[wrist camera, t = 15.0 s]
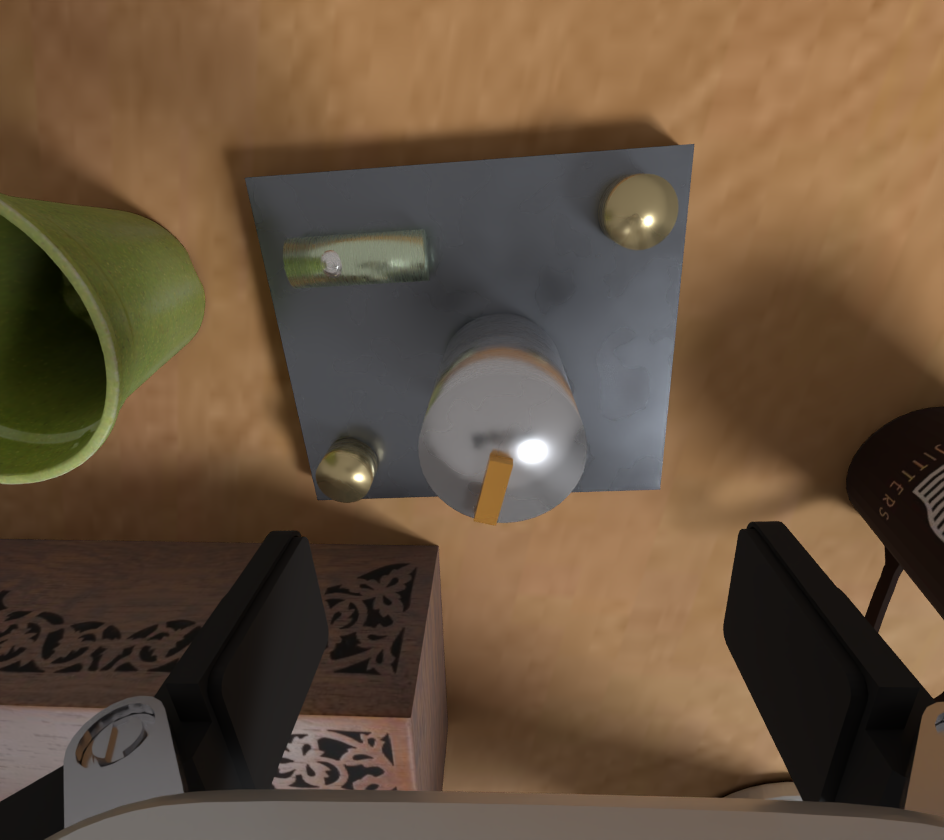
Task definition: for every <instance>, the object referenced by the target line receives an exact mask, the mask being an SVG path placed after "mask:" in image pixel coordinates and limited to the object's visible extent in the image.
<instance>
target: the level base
mask: <svg viewBox="0 0 944 840" xmlns="http://www.w3.org/2000/svg"><path fill="white" fill-rule="evenodd" d="M693 152H694V144H688V145H675V146H662V147H648V148H635V149H622V150H608V151H595V152H582V153H569V154H555V155H542V156H529V157H515V158H502V159H489V160H475V161H462V162H449V163H435V164H422V165H409V166H395V167H382V168H369V169H356V170H342V171H329V172H316V173H302V174H289V175H276V176H262V177H249V178H245V181H246V185H247V190H248V194H249V199H250V203H251V208H252V212H253V216H254V221H255V225H256V230H257V234H258V238H259V243H260V247H261V252H262V256H263V261H264V265H265V269H266V274H267V278H268V283H269V287H270V292H271V296H272V300H273V305H274V309H275V314H276V318H277V323H278V327H279V331H280V336H281V340H282V345H283V349H284V354H285V358H286V362H287V367H288V371H289V376H290V380H291V385H292V389H293V393H294V398H295V402H296V407H297V411H298V416H299V420H300V424H301V429H302V433H303V438H304V442H305V447H306V451H307V455H308V460H309V464H310V469H311V473H312V478H313V482H314V486H315V491H316V495H317V500H335V501H338V502H344V503H350V502H355V501H358V500H360V499H372V498H404V497H435V496H438V495H437V494H436V493H435V492H434V491H433V490H432V488H431V487H430V485H429V484H428V482H427V480H426V478H425V476H424V474H423V471H422V468H421V465H420V460H419V451H418V444H419V436H420V432H421V428H422V425H423V422H424V418H425V415H426V412H427V408H428V405H429V402H430V398H431V395H432V392H433V388H434V385H435V382H436V378H437V375H438V372H439V368H440V365H441V362H442V358H443V355H444V352H445V350H446V347H447V345H448V344H449V342H450V340H451V339H452V337H453V336H454V335H455V334H456V333H457V332H458V331H459V330H460V329H461V328H462V327H463V326H465V325H466V324H467V323H469V322H471V321H473V320H475V319H477V318H480V317H482V316H486V315H490V314H498V313H502V314H513V315H518V316H521V317H524V318H526V319H529V320H531V321H532V322H534V323H536V324H537V325H539V326H540V327H541V328H542V329H543V330H544V331H545V332H546V333H547V334H548V335H549V336H550V338H551V339H552V340H553V342H554V344H555V346H556V348H557V350H558V353H559V356H560V359H561V362H562V365H563V368H564V371H565V374H566V376H567V379H568V382H569V385H570V388H571V391H572V394H573V397H574V400H575V403H576V406H577V409H578V412H579V415H580V417H581V420H582V423H583V426H584V429H585V432H586V438H587V459H586V464H585V467H584V471H583V473H582V475H581V478H580V480H579V481H578V483H577V485H576V486H575V488H574V489H573V490H572V492H594V491H626V490H657V489H660V484H661V474H662V464H663V454H664V443H665V433H666V423H667V413H668V403H669V393H670V383H671V373H672V363H673V353H674V343H675V333H676V323H677V313H678V303H679V293H680V283H681V273H682V263H683V253H684V243H685V233H686V223H687V213H688V203H689V193H690V182H691V172H692V162H693Z"/></svg>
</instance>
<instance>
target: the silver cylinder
mask: <svg viewBox="0 0 944 840" xmlns="http://www.w3.org/2000/svg"><path fill="white" fill-rule="evenodd" d="M418 451H419V460H420V465H421V468H422V471H423V474H424V476H425V478H426V480H427V482H428V484H429V485H430V487H431V488H432V490H433V491H434V492H435V493H436V494H437V495H438V497H439V498H440V499H442V500H443V501H444V502H445V503H446V504H447V505H449V506H450V507H452V508H453V509H455V510H456V511H458V512H460V513H462V514H464V515H467V516H469V517H472V518H474V521H475V522H480V523H485V524H490V525H495V526H496V524H497V523H508V522H518V521H523V520H527V519H531V518H534V517H537V516H539V515H541V514H544V513H546V512H547V511H549V510H551V509H553V508H554V507H555V506H557V505H558V504H560V503H561V502H562V501H563V500H564V499H565V498H566V497H567V496H568V495H569V494H570V493H571V492H572V490H573V489H574V488H575V486H576V485H577V483H578V481H579V480H580V478H581V475H582V473H583V471H584V467H585V464H586V459H587V438H586V432H585V429H584V426H583V423H582V420H581V417H580V415H579V412H578V409H577V406H576V403H575V400H574V397H573V394H572V391H571V388H570V385H569V382H568V379H567V376H566V374H565V371H564V368H563V365H562V362H561V359H560V356H559V353H558V350H557V348H556V346H555V344H554V342H553V340H552V339H551V338H550V336H549V335H548V334H547V333H546V332H545V331H544V330H543V329H542V328H541V327H540V326H539V325H537V324H536V323H534V322H532V321H531V320H529V319H526V318H524V317H521V316H518V315H513V314H502V313H498V314H490V315H486V316H482V317H480V318H477V319H475V320H473V321H471V322H469V323H467V324H466V325H465V326H463V327H462V328H461V329H460V330H459V331H458V332H457V333H456V334H455V335H454V336H453V337H452V339H451V340H450V342H449V344H448V345H447V347H446V350H445V352H444V355H443V358H442V362H441V365H440V368H439V372H438V375H437V378H436V382H435V385H434V388H433V392H432V395H431V398H430V402H429V405H428V408H427V412H426V415H425V418H424V422H423V425H422V428H421V432H420V436H419V444H418Z"/></svg>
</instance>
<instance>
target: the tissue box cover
mask: <svg viewBox="0 0 944 840" xmlns="http://www.w3.org/2000/svg"><path fill="white" fill-rule="evenodd" d="M261 544H262V543H224V542H160V541H96V540H32V539H0V801H2V800H4V799H6V798H7V797H9V796H11V795H13V794H14V793H16V792H18V791H19V790H21V789H23V788H25V787H26V786H28V785H30V784H32V783H33V782H35V781H37V780H39V779H40V778H42V777H44V776H45V775H47V774H49V773H51V772H52V771H54V770H56V769H58V768H59V767H61V766H63V765H64V764H63V761H64V757H65V752H66V749H67V747H68V745H69V743H70V741H71V740H72V738H73V736H74V735H75V734H76V733H77V732H78V731H79V729H80V728H81V727H82V726H83V725H84V724H85V723H86V722H87V721H88V720H90V719H91V718H92V717H93V716H95V715H96V714H97V713H98V712H100V711H102V710H103V709H105V708H107V707H108V706H110V705H112V704H114V703H116V702H119V701H121V700H124V699H126V698H131V697H136V696H152V697H154V696H155V694H156V693H157V691H158V690H159V688H160V687H161V686H162V684H163V683H164V681H165V680H166V678H167V677H168V676H169V674H170V673H171V671H172V670H173V668H174V667H175V665H176V664H177V663H178V661H179V660H180V658H181V657H182V655H183V654H184V653H185V651H186V650H187V648H188V647H189V645H190V644H191V643H192V641H193V640H194V638H195V637H196V635H197V634H198V632H199V631H200V630H201V628H202V627H203V625H204V624H205V622H206V621H207V620H208V618H209V617H210V615H211V614H212V612H213V611H214V610H215V608H216V607H217V605H218V604H219V602H220V601H221V600H222V598H223V597H224V596H225V595H226V594H227V593H228V592H229V590H230V589H231V587H232V586H233V584H234V583H235V582H236V580H237V579H238V577H239V576H240V574H241V573H242V572H243V570H244V569H245V567H246V566H247V564H248V563H249V561H250V560H251V559H252V557H253V556H254V554H255V553H256V551H257V550H258V548H259V547H260V546H261ZM309 545H310V549H311V553H312V558H313V562H314V566H315V571H316V575H317V580H318V584H319V588H320V593H321V597H322V602H323V606H324V610H325V615H326V619H327V623H328V629H329V635H328V642H327V645H326V648H325V650H324V653H323V655H322V658H321V660H320V663H319V666H318V668H317V671H316V673H315V676H314V678H313V681H312V683H311V686H310V688H309V691H308V693H307V696H306V698H305V701H304V703H303V706H302V708H301V711H300V714H299V716H298V719H297V721H296V724H295V726H294V729H293V731H292V734H291V736H290V739H289V741H288V744H287V746H286V749H285V751H284V754H283V756H282V759H281V762H280V764H279V767H278V769H277V772H276V774H275V777H274V779H273V782H272V784H271V787H270V789H332V790H397V791H442V787H443V776H444V765H445V754H446V743H447V732H448V715H447V696H446V677H445V658H444V640H443V621H442V602H441V584H440V565H439V546H416V545H352V544H309Z"/></svg>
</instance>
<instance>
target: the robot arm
mask: <svg viewBox="0 0 944 840" xmlns="http://www.w3.org/2000/svg"><path fill="white" fill-rule="evenodd" d="M723 631H724V638H725V641H726V644H727V646H728V648H729V650H730V652H731V654H732V656H733V659H734V661H735V663H736V665H737V667H738V669H739V671H740V673H741V675H742V677H743V679H744V681H745V683H746V685H747V687H748V689H749V691H750V693H751V696H752V698H753V700H754V702H755V704H756V706H757V708H758V710H759V712H760V714H761V716H762V718H763V720H764V722H765V724H766V726H767V728H768V730H769V733H770V735H771V737H772V739H773V741H774V743H775V745H776V747H777V749H778V751H779V753H780V755H781V757H782V759H783V761H784V763H785V765H786V767H787V769H788V772H789V774H790V776H791V778H792V780H793V782H779V783H769V784H763V785H759V786H754V787H750V788H746V789H743V790H740V791H737V792H735V793H732V794H730V795H728V796H726V797H723V798H707V797H671V796H634V795H596V794H551V793H505V792H456V791H397V790H332V789H270V787H271V784H272V782H273V779H274V777H275V774H276V772H277V769H278V767H279V764H280V762H281V759H282V756H283V754H284V751H285V749H286V746H287V744H288V741H289V739H290V736H291V734H292V731H293V729H294V726H295V724H296V721H297V719H298V716H299V714H300V711H301V708H302V706H303V703H304V701H305V698H306V696H307V693H308V691H309V688H310V686H311V683H312V681H313V678H314V676H315V673H316V671H317V668H318V666H319V663H320V660H321V658H322V655H323V653H324V650H325V648H326V645H327V642H328V635H329V629H328V623H327V619H326V615H325V610H324V606H323V602H322V597H321V593H320V588H319V584H318V580H317V575H316V571H315V566H314V562H313V558H312V553H311V549H310V545H309V541H308V539H307V538H306V537H301V534H300V533H299V532H298V531H272V532H270V533H269V534H268V535H267V537H266V538H265V540H264V541H263V543H262V544H261V546H260V547H259V548H258V550H257V551H256V553H255V554H254V556H253V557H252V559H251V560H250V561H249V563H248V564H247V566H246V567H245V569H244V570H243V572H242V573H241V574H240V576H239V577H238V579H237V580H236V582H235V583H234V584H233V586H232V587H231V589H230V590H229V592H228V593H227V594H226V595H225V596H224V597H223V598H222V600H221V601H220V602H219V604H218V605H217V607H216V608H215V610H214V611H213V612H212V614H211V615H210V617H209V618H208V620H207V621H206V622H205V624H204V625H203V627H202V628H201V630H200V631H199V632H198V634H197V635H196V637H195V638H194V640H193V641H192V643H191V644H190V645H189V647H188V648H187V650H186V651H185V653H184V654H183V655H182V657H181V658H180V660H179V661H178V663H177V664H176V665H175V667H174V668H173V670H172V671H171V673H170V674H169V676H168V677H167V678H166V680H165V681H164V683H163V684H162V686H161V687H160V688H159V690H158V691H157V693H156V694H155V696H154V697H152V696H136V697H131V698H126V699H124V700H121V701H119V702H116V703H114V704H112V705H110V706H108V707H107V708H105V709H103V710H102V711H100V712H98V713H97V714H96V715H95V716H93V717H92V718H91V719H90V720H88V721H87V722H86V723H85V724H84V725H83V726H82V727H81V728H80V729H79V731H78V732H77V733H76V734H75V735H74V736H73V738H72V740H71V741H70V743H69V745H68V747H67V749H66V752H65V757H64V761H63V764H64V765H63V766H61V767H59V768H58V769H56V770H54V771H52V772H51V773H49V774H47V775H45V776H44V777H42V778H40V779H39V780H37V781H35V782H33V783H32V784H30V785H28V786H26V787H25V788H23V789H21V790H19V791H18V792H16V793H14V794H13V795H11V796H9V797H7V798H6V799H4V800H2V801H0V840H944V702H935V700H934V699H933V698H932V697H931V696H930V694H929V693H928V692H927V691H926V690H925V688H924V687H923V686H922V685H921V684H920V683H919V681H918V680H917V679H916V678H915V677H914V675H913V674H912V673H911V672H910V671H909V669H908V668H907V667H906V666H905V665H904V664H903V662H902V661H901V660H900V659H899V658H898V656H897V655H896V654H895V653H894V652H893V650H892V649H891V648H890V647H889V646H888V645H887V643H886V642H885V641H884V640H883V639H882V637H881V636H880V635H879V634H878V633H877V631H876V630H875V629H874V628H873V627H872V626H871V624H870V623H869V622H868V621H867V620H866V618H865V617H864V616H863V615H862V614H861V612H860V611H859V610H858V609H857V608H856V606H855V605H854V604H853V603H852V602H851V601H850V599H849V598H848V597H847V596H846V595H845V594H844V593H843V592H842V591H841V590H840V589H839V588H837V587H836V586H835V585H834V583H833V582H832V581H831V580H830V579H829V577H828V576H827V575H826V574H825V573H824V571H823V570H822V569H821V568H820V567H819V565H818V564H817V563H816V562H815V561H814V559H813V558H812V557H811V556H810V555H809V553H808V552H807V551H806V550H805V549H804V547H803V546H802V545H801V544H800V543H799V541H798V540H797V539H796V538H795V537H794V535H793V534H792V533H791V532H790V531H789V529H788V528H787V527H786V526H785V525H784V524H783V523H782V522H779V521H769V522H750V523H749V524H748V526H747V529H741V530H740V531H739V534H738V540H737V546H736V552H735V558H734V564H733V570H732V576H731V582H730V588H729V595H728V601H727V607H726V613H725V619H724V626H723Z"/></svg>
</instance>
